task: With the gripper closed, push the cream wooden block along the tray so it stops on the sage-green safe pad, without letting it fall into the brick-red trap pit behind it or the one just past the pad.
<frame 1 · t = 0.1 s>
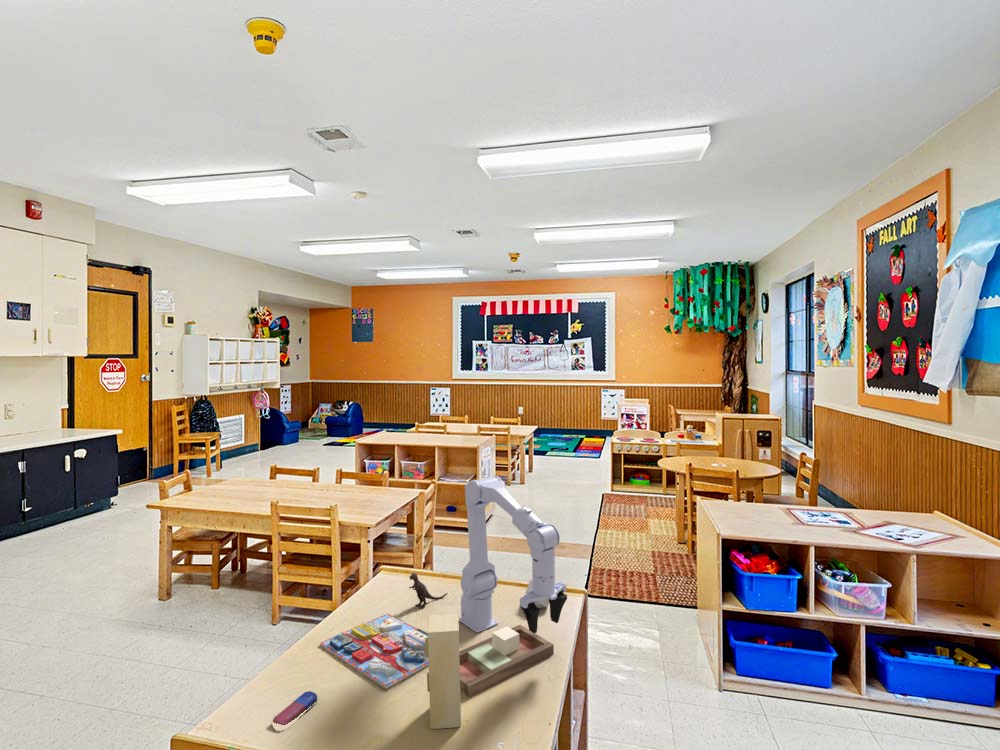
hand: (544, 626, 135), 10 cm above the table, tool pointing down, fingers open, 7 cm apart
puzzle board: (387, 650, 144), on the table
die: (538, 606, 167), on the table
eraser: (295, 716, 118), on the table
dinosaur model: (428, 603, 169), on the table
block: (506, 648, 138), point 2 cm above the table, touching tray
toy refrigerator: (444, 717, 116), on the table
tray: (497, 661, 137), on the table
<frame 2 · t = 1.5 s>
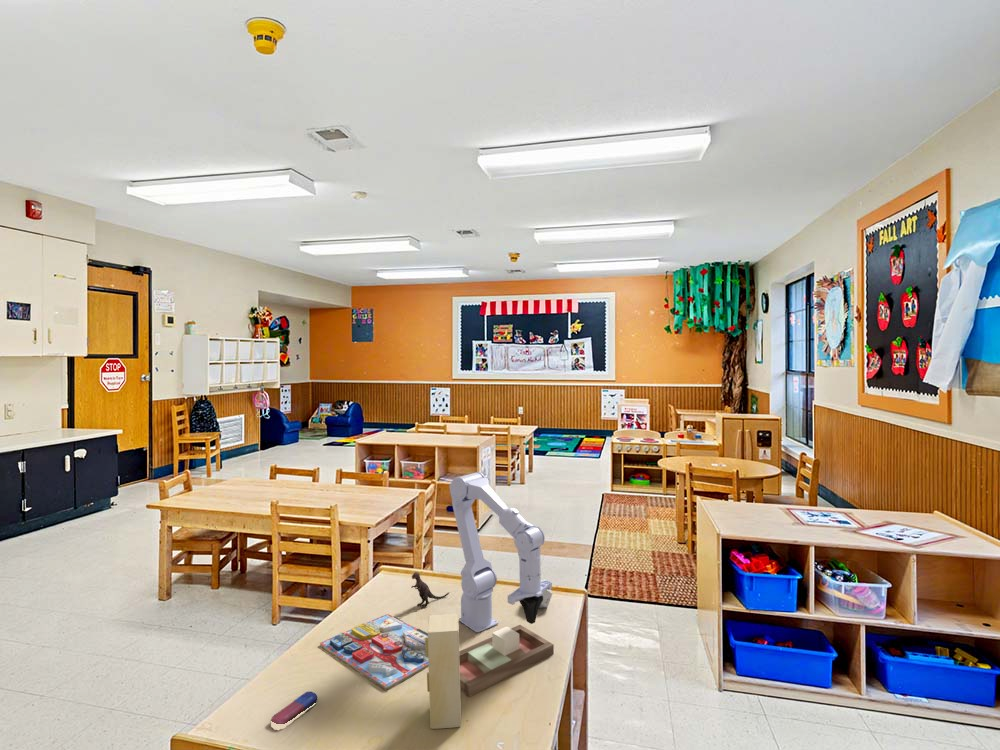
hand: (530, 621, 144), 7 cm above the table, tool pointing down, fingers closed
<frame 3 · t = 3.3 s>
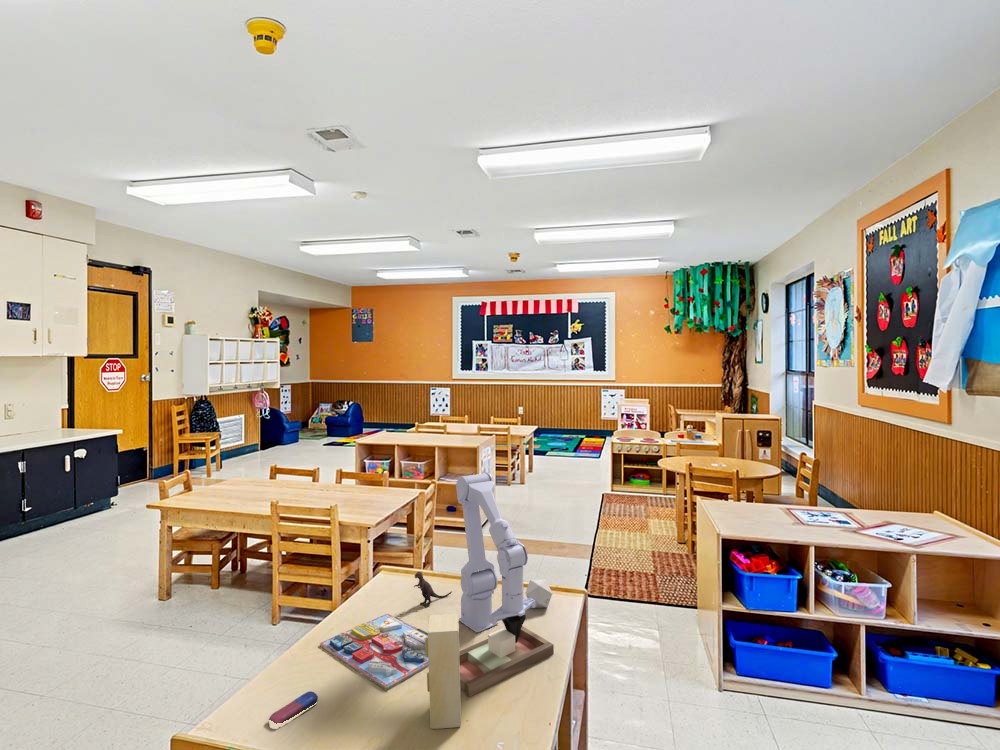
hand: (513, 641, 140), 3 cm above the table, tool pointing down, fingers closed
block: (501, 650, 137), point 3 cm above the table, touching gripper
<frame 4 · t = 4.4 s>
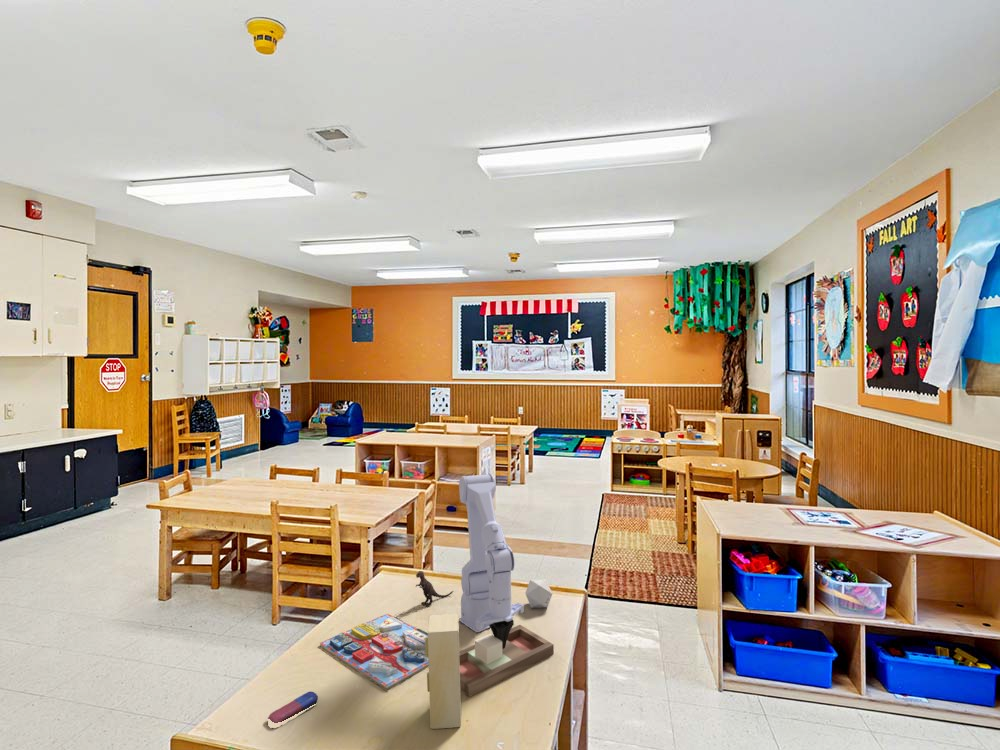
hand: (500, 647, 137), 3 cm above the table, tool pointing down, fingers closed
block: (488, 656, 135), point 2 cm above the table, touching tray, gripper
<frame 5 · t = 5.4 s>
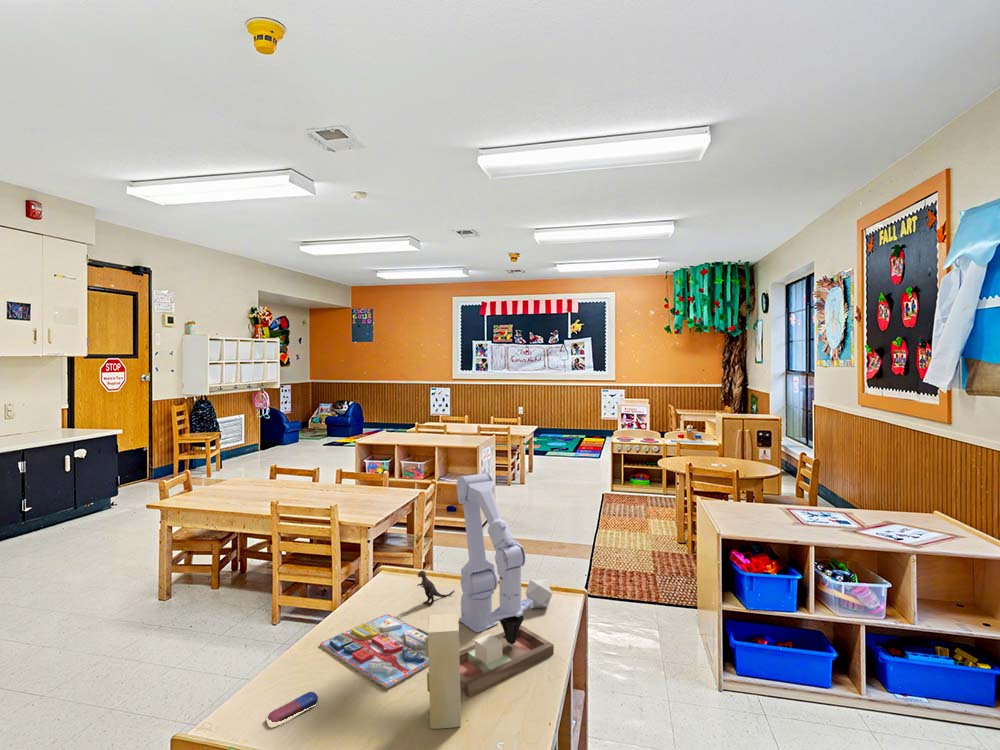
hand: (510, 642, 139), 3 cm above the table, tool pointing down, fingers closed
block: (488, 656, 135), point 2 cm above the table, touching tray
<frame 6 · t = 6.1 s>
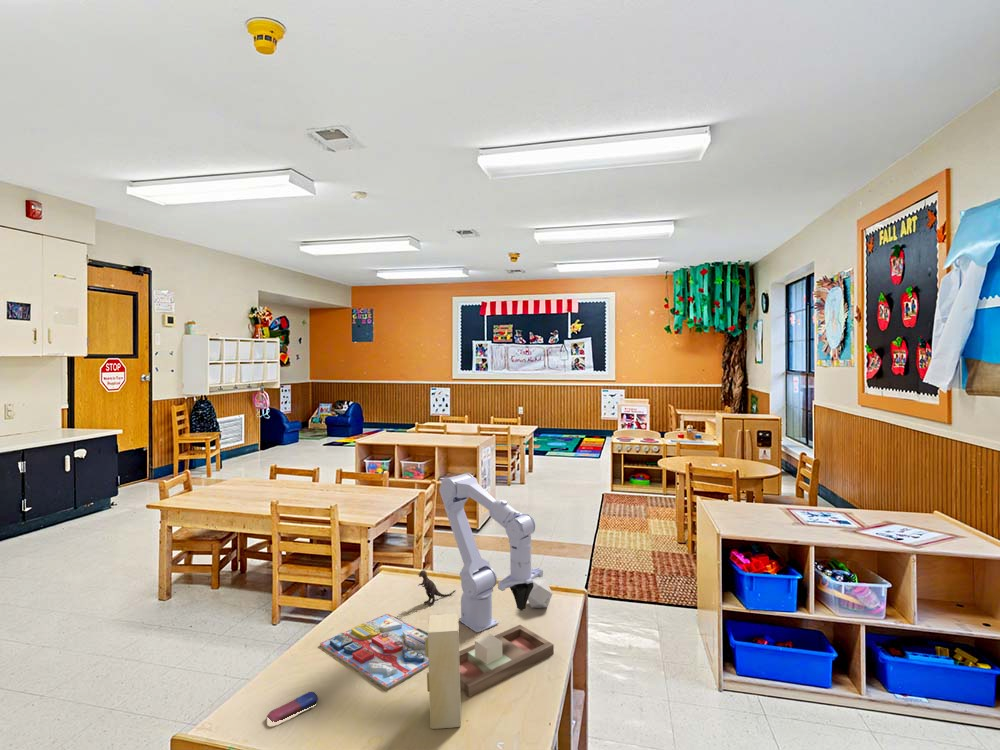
hand: (521, 608, 145), 9 cm above the table, tool pointing down, fingers closed
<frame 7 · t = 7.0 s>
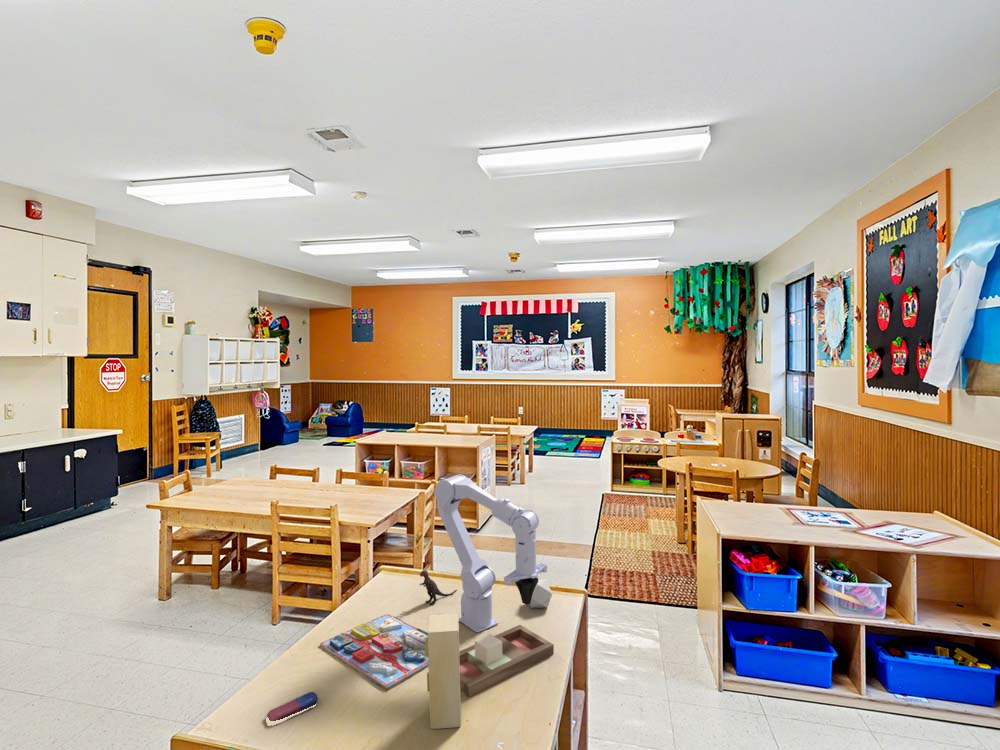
hand: (526, 603, 149), 9 cm above the table, tool pointing down, fingers closed
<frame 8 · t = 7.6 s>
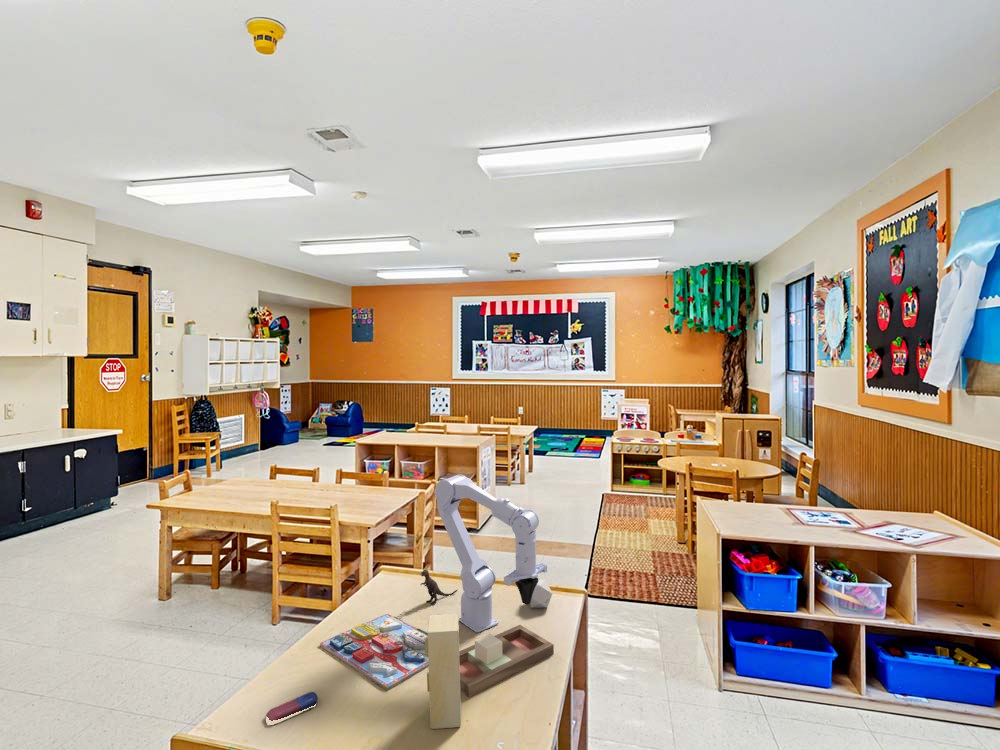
hand: (526, 603, 149), 9 cm above the table, tool pointing down, fingers closed
at the end: block 0.2 cm from the target spot on the tray, point 2.5 cm above the tray's base; block tilted 0° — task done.
